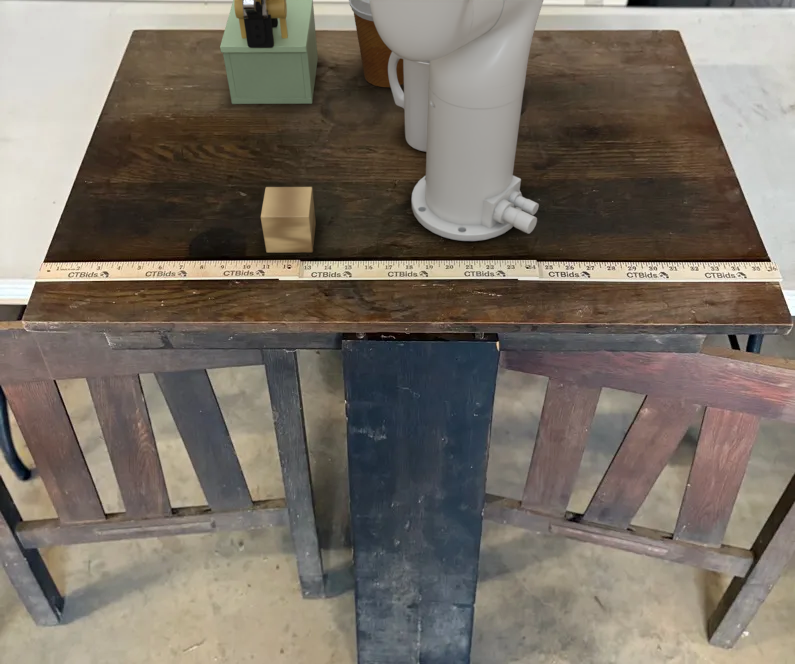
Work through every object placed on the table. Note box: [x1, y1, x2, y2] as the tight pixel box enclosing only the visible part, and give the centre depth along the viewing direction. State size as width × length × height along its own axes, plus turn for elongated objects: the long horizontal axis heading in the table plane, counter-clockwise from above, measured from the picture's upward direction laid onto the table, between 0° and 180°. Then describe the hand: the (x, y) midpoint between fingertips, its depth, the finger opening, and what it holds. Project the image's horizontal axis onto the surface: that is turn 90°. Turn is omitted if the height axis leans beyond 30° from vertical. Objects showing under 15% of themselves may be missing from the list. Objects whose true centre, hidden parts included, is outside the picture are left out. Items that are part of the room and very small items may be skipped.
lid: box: [219, 0, 314, 54], centre depth 101 cm, size 12×11×6 cm
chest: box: [222, 7, 319, 105], centre depth 106 cm, size 12×11×8 cm
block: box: [260, 186, 317, 254], centre depth 86 cm, size 5×5×5 cm
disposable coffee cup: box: [348, 0, 404, 88], centre depth 105 cm, size 10×10×12 cm
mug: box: [388, 52, 430, 153], centre depth 96 cm, size 10×7×12 cm, turn 50°
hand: (263, 34), depth 100 cm, fingers closed on lid, 4 cm apart
